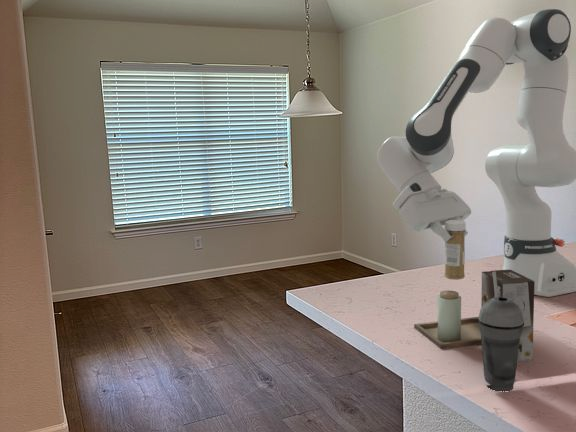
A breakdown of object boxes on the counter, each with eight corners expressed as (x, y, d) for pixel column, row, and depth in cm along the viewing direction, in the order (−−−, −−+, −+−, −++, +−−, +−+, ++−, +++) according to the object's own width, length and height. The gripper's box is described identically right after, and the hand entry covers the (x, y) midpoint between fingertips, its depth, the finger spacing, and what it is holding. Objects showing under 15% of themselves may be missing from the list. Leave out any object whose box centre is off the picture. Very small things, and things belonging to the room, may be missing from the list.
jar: (453, 333, 111) (453, 288, 109) (465, 341, 106) (465, 295, 105) (433, 336, 110) (433, 291, 108) (444, 344, 105) (444, 297, 104)
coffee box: (534, 365, 97) (537, 281, 94) (501, 367, 96) (502, 283, 94) (509, 345, 106) (511, 268, 103) (478, 348, 105) (480, 270, 103)
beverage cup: (518, 400, 84) (522, 280, 81) (472, 390, 88) (473, 275, 85) (525, 381, 91) (528, 269, 88) (481, 372, 94) (483, 265, 91)
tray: (480, 324, 118) (480, 316, 118) (512, 343, 106) (513, 335, 106) (414, 331, 115) (414, 324, 115) (440, 353, 103) (440, 344, 103)
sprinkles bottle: (468, 277, 122) (469, 220, 119) (456, 281, 119) (457, 223, 117) (452, 273, 125) (453, 218, 123) (440, 277, 123) (440, 221, 120)
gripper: (440, 196, 135) (473, 238, 128) (387, 206, 122) (421, 253, 116) (455, 180, 130) (490, 222, 124) (402, 188, 118) (438, 236, 112)
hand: (457, 237), depth 120 cm, fingers closed on sprinkles bottle, 4 cm apart
